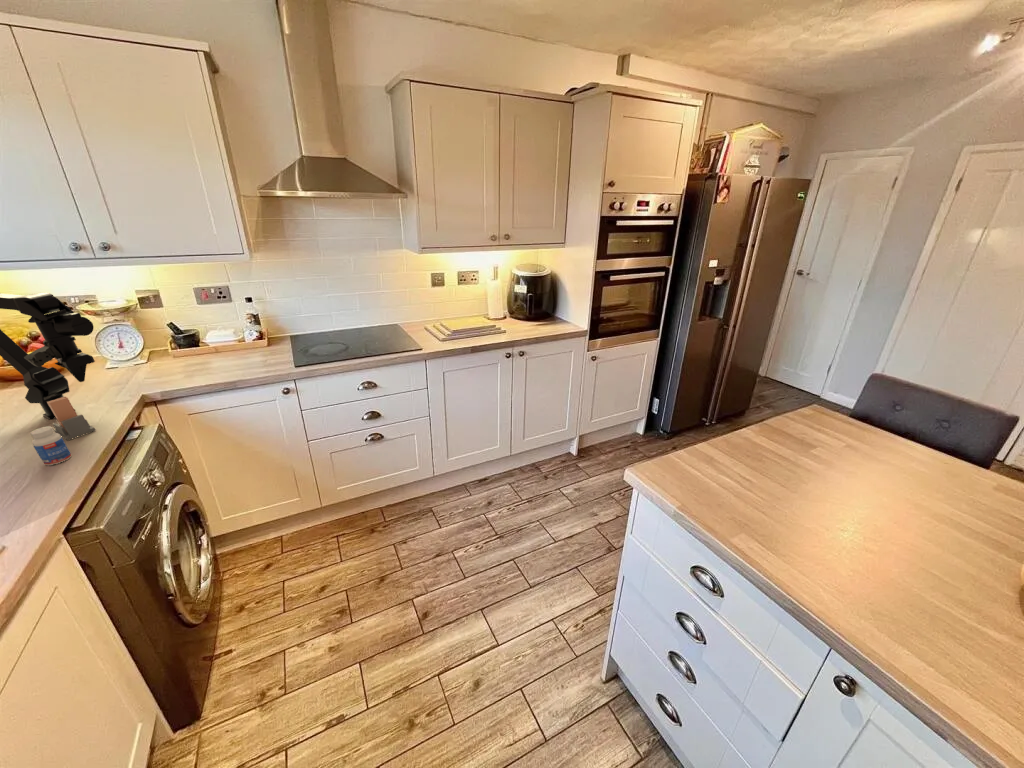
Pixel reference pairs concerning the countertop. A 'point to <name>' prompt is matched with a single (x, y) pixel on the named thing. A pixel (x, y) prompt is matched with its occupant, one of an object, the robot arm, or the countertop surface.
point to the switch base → (73, 427)
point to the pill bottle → (50, 446)
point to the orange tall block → (62, 409)
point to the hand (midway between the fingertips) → (81, 381)
